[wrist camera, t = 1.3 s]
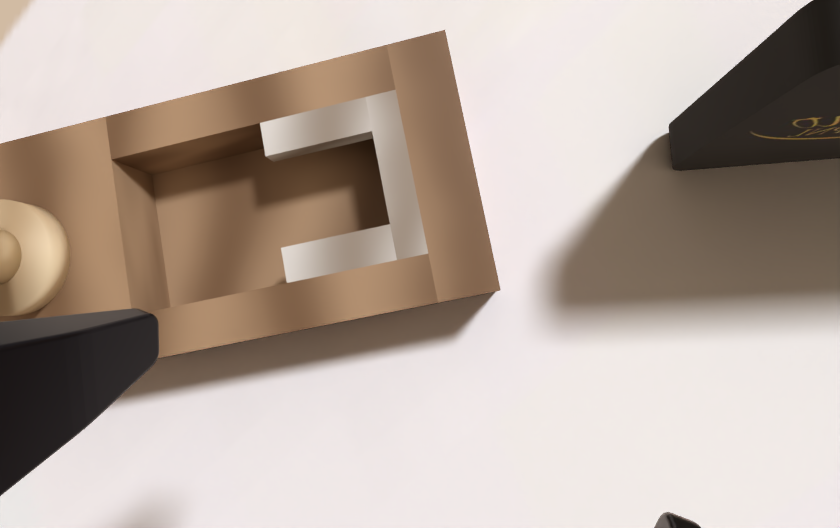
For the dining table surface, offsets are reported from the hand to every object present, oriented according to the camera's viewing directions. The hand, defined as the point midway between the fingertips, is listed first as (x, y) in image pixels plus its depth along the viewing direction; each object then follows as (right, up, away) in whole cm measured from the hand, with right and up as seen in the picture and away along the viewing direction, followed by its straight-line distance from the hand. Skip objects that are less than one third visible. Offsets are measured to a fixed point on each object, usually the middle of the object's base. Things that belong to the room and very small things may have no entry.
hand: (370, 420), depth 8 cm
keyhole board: (-8, +4, +15) cm, 18 cm away
